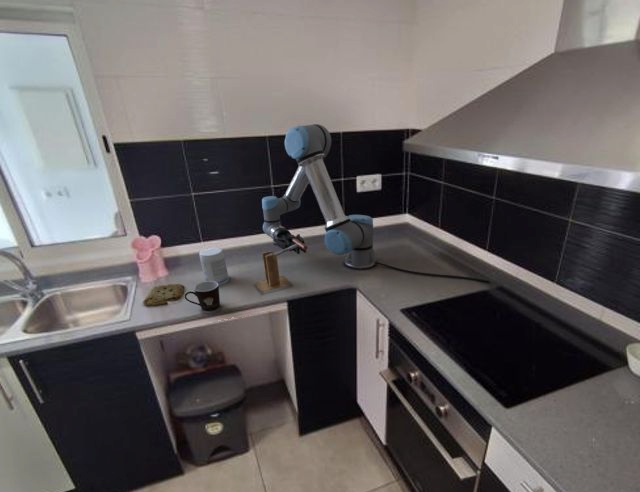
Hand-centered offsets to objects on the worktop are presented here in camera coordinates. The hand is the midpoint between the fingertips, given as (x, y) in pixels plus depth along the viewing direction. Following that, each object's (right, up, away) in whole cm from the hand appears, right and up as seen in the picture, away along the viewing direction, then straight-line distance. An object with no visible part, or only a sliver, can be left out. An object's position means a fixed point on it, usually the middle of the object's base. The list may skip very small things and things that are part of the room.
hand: (301, 250), depth 161 cm
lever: (-7, -2, -2) cm, 7 cm away
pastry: (-55, -20, -6) cm, 58 cm away
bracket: (-12, -15, +1) cm, 19 cm away
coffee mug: (-34, -25, -16) cm, 45 cm away
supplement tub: (-37, -14, +5) cm, 40 cm away
